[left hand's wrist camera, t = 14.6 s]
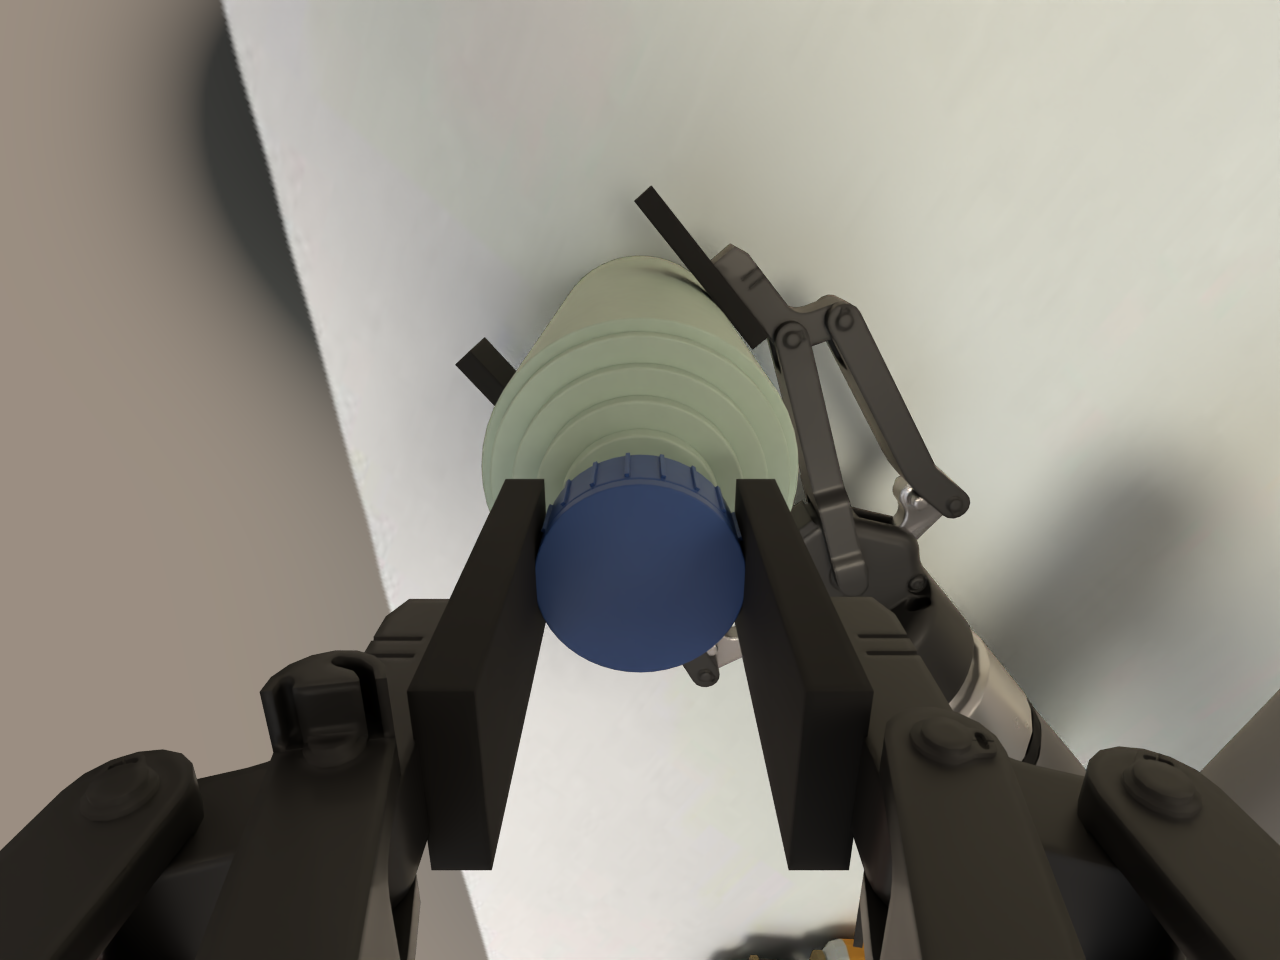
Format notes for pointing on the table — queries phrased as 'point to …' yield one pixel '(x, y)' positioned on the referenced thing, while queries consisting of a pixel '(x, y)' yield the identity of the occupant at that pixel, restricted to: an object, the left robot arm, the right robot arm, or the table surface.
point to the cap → (640, 564)
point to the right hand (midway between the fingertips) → (553, 275)
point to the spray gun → (833, 951)
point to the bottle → (639, 389)
